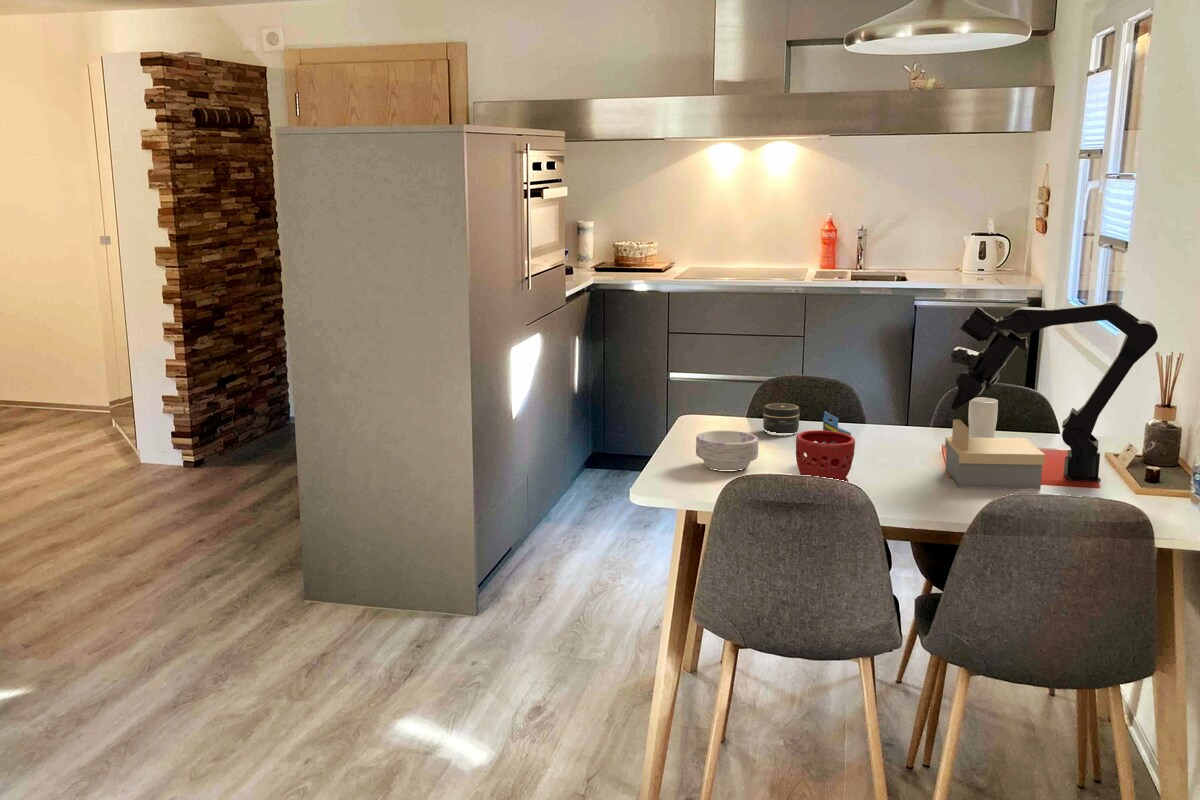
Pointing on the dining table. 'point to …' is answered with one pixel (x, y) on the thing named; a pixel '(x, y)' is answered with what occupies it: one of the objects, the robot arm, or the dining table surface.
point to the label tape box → (832, 425)
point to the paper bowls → (727, 449)
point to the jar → (781, 418)
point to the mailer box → (992, 474)
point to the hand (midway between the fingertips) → (958, 405)
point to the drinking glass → (982, 417)
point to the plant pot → (825, 454)
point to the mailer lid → (992, 448)
